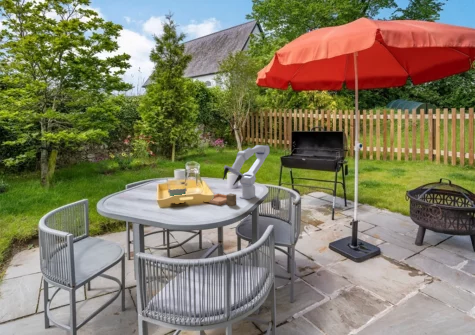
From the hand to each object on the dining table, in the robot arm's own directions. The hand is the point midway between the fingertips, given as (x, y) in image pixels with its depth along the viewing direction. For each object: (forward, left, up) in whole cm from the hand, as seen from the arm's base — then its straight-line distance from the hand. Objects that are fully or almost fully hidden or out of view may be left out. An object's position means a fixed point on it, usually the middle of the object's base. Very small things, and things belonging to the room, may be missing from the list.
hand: (228, 181), depth 193 cm
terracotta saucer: (-3, -12, -16) cm, 20 cm away
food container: (+17, -31, -16) cm, 39 cm away
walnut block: (-1, +1, -16) cm, 16 cm away
